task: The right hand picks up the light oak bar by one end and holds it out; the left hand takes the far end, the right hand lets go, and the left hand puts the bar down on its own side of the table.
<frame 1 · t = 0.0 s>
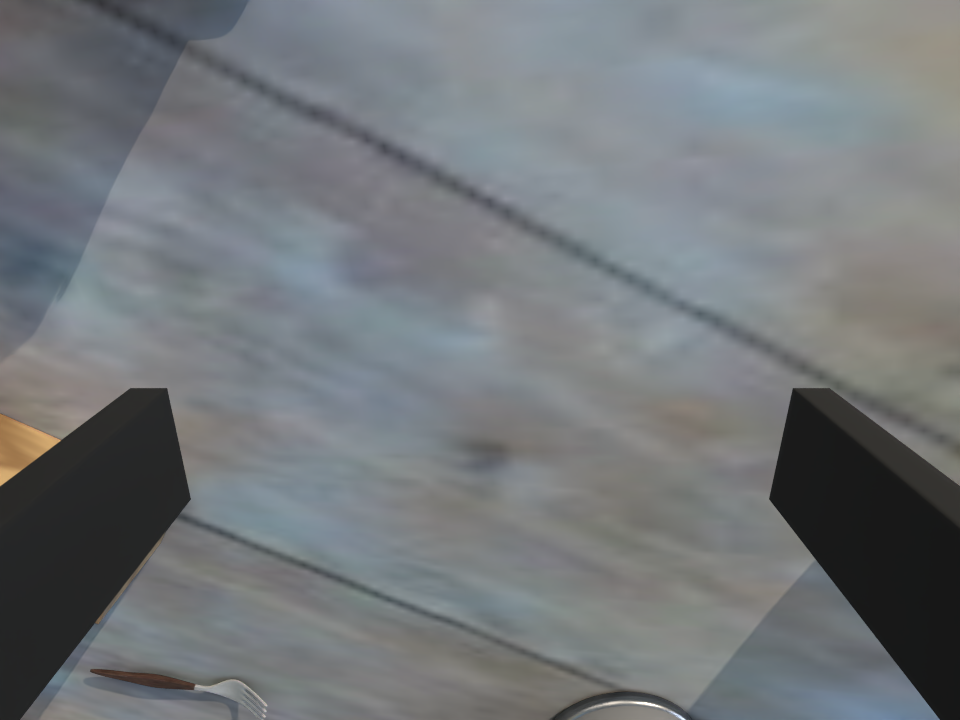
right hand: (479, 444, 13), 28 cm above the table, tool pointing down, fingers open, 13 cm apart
fork: (185, 678, 54), on the table
bar: (16, 452, 45), on the table
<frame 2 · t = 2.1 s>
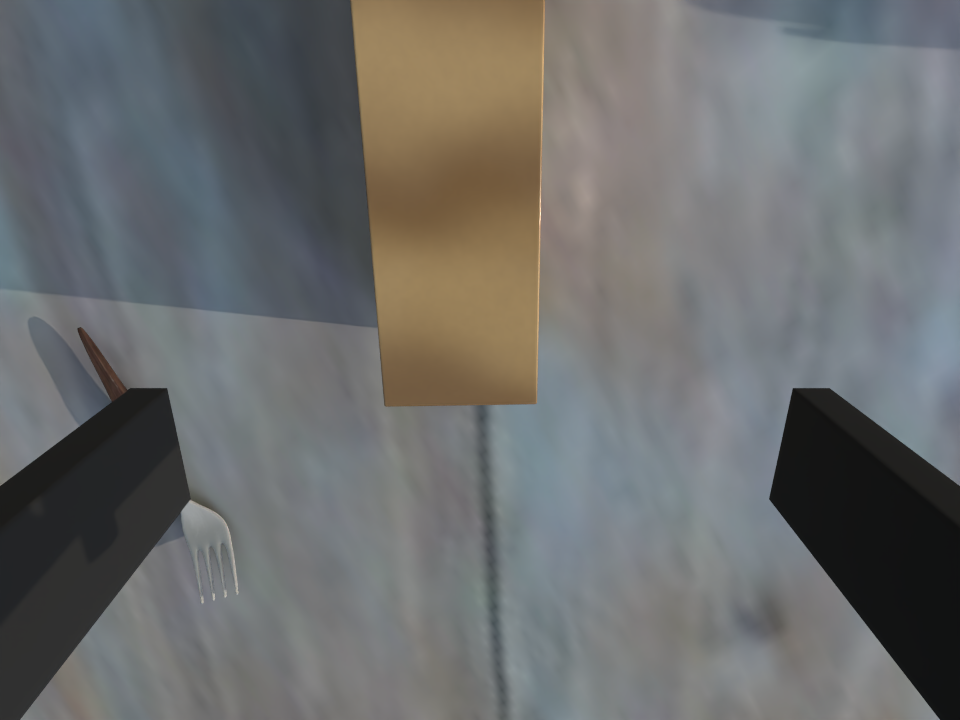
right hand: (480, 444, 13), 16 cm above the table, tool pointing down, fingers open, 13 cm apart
fork: (168, 458, 32), on the table
bar: (457, 52, 25), on the table
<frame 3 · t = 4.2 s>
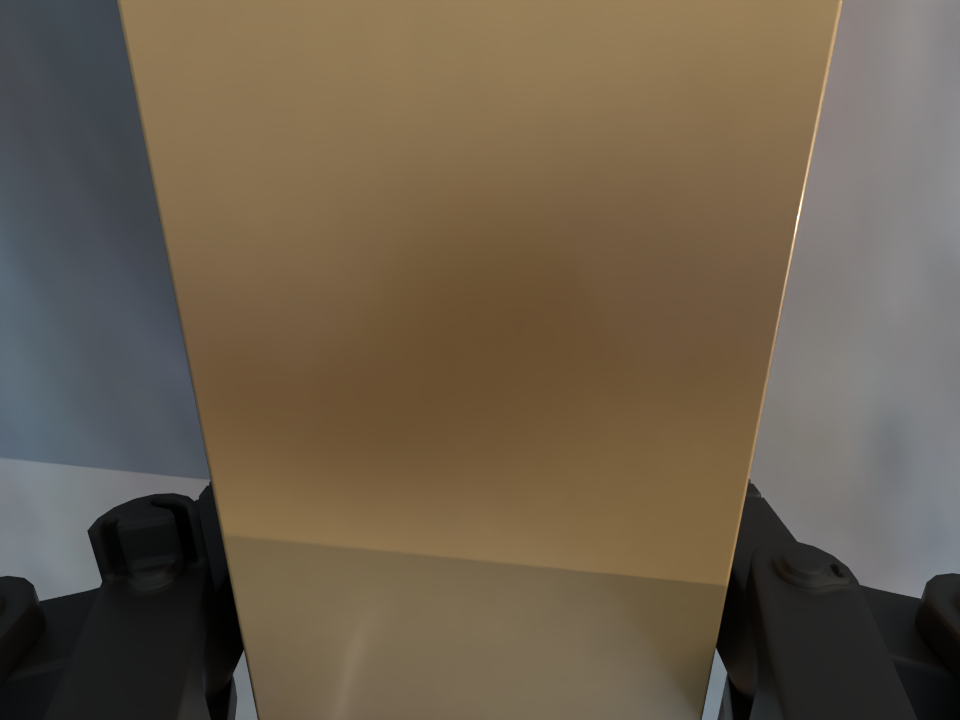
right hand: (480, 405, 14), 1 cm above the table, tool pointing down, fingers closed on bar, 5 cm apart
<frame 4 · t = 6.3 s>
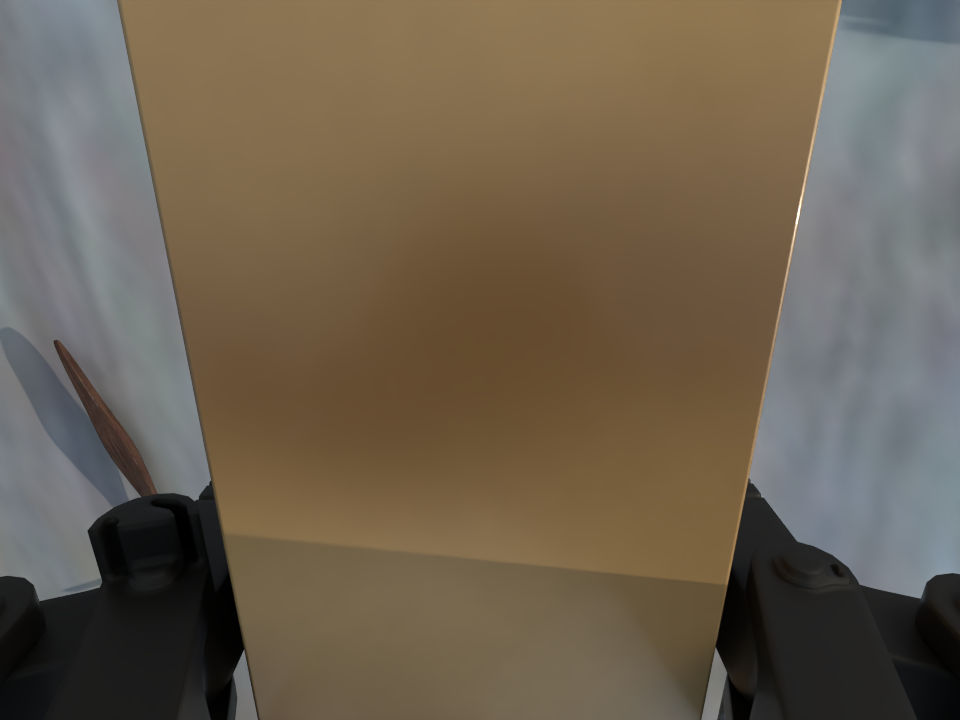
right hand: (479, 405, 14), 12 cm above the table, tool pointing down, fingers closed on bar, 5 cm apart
fork: (153, 481, 29), on the table
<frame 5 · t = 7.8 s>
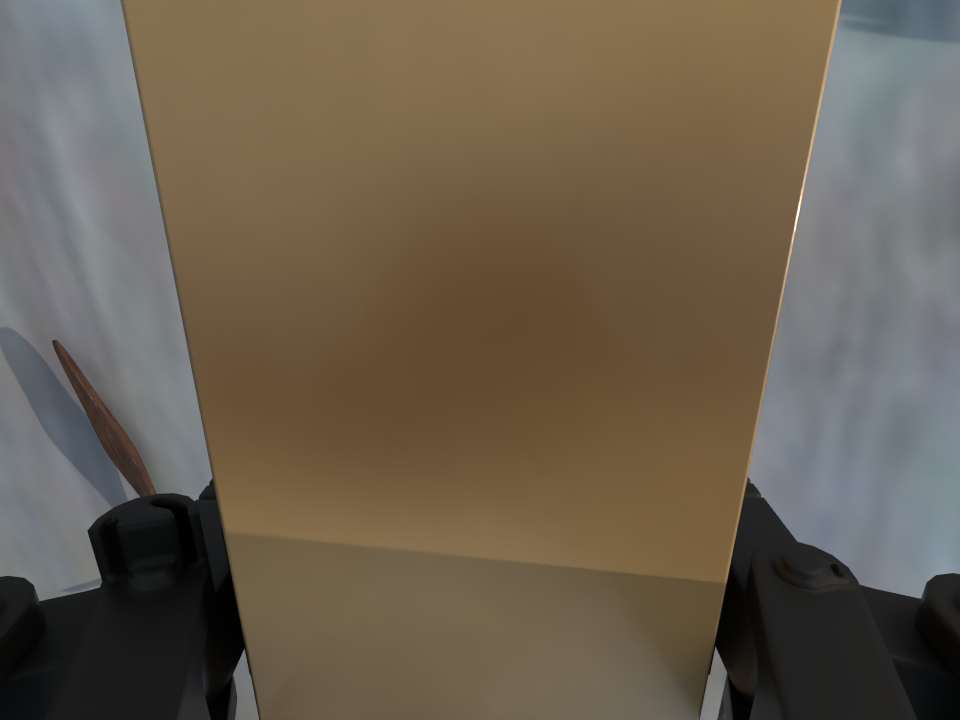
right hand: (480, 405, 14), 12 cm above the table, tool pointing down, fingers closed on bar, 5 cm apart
fork: (152, 481, 29), on the table
when the right hand's fingers open (12 cm above the table, at t = 8.7 s): bar stays where it is, held by the left hand.
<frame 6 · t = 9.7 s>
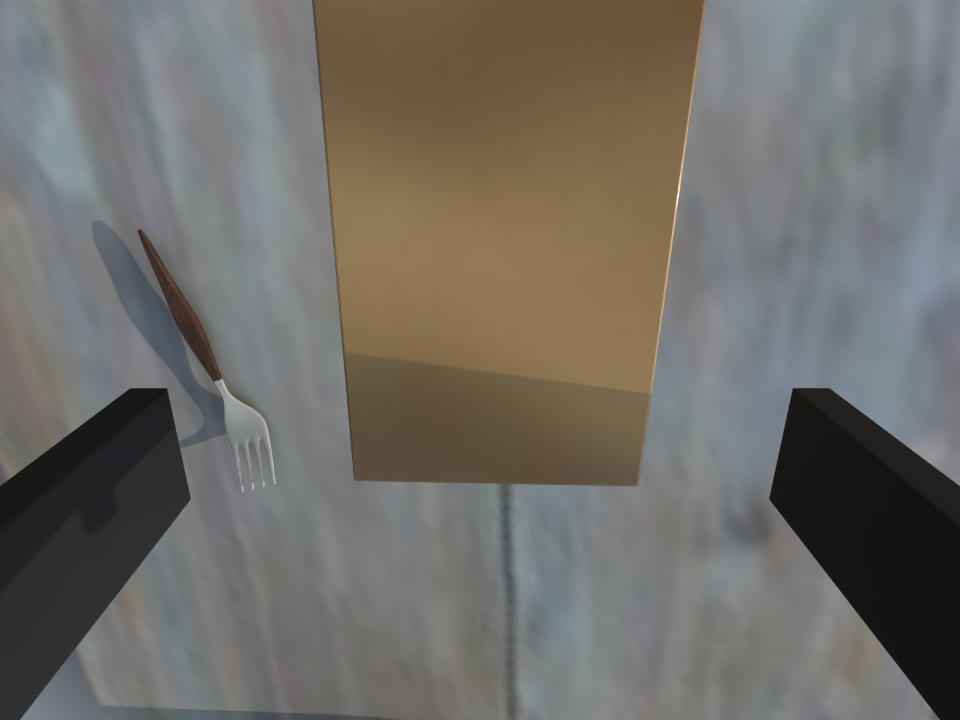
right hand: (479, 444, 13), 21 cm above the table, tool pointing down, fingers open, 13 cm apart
fork: (214, 358, 35), on the table
when the left hand's fingers open (4 cm above the table, at t = 13.1 s): bar drops 1 cm, on the table.
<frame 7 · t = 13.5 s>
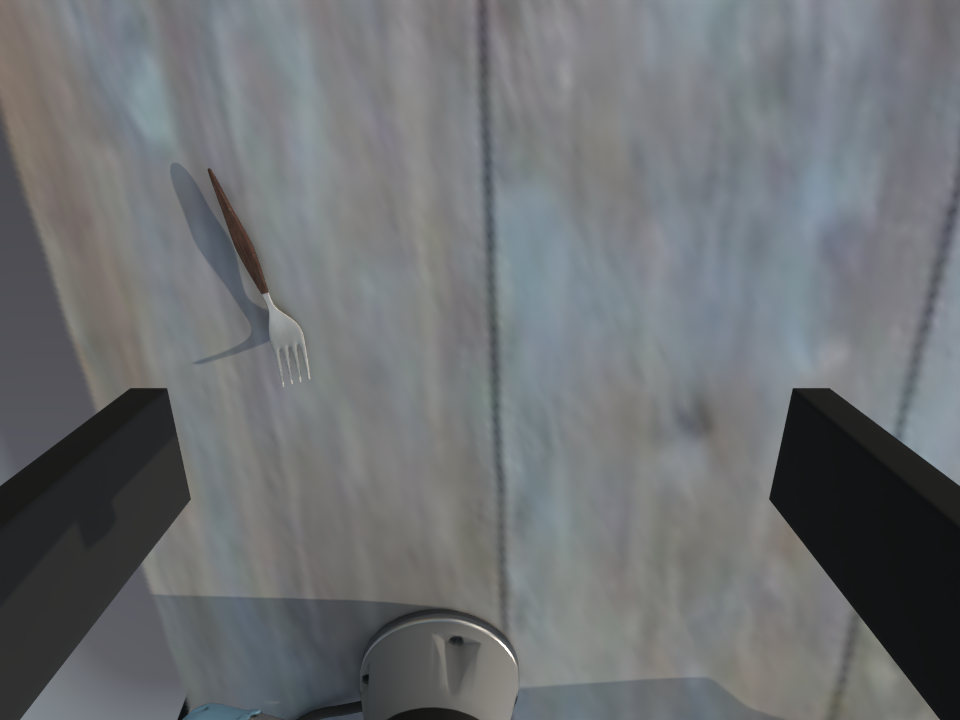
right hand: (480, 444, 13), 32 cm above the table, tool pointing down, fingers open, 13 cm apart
fork: (261, 276, 44), on the table
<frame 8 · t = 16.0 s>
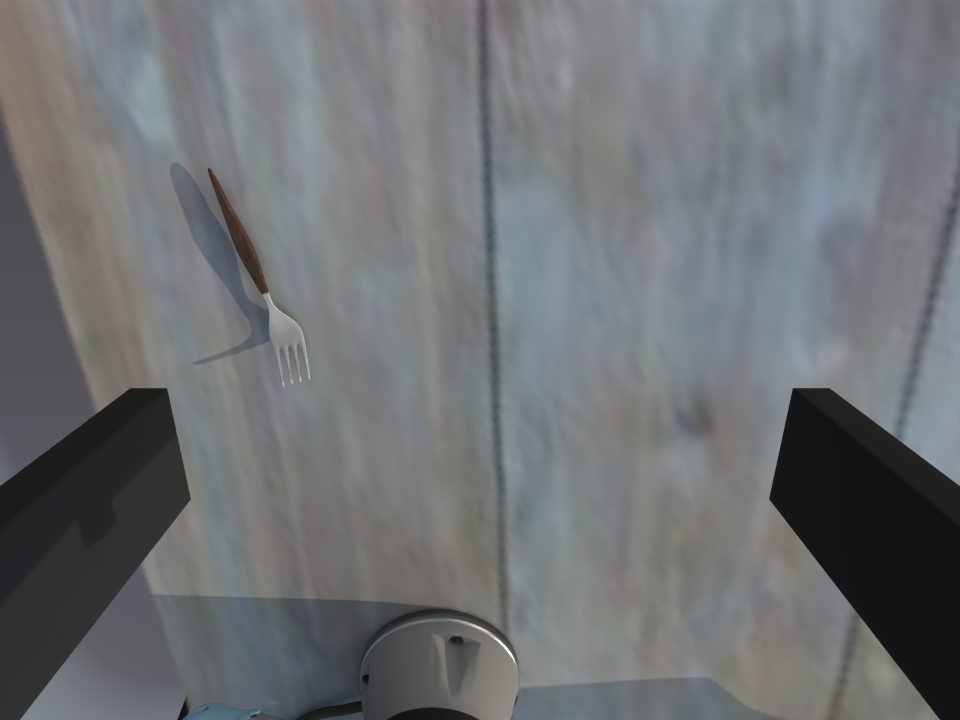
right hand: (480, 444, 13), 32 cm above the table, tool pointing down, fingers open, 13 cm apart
fork: (261, 276, 44), on the table
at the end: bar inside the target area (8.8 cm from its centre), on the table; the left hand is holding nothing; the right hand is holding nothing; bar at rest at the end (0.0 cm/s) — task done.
